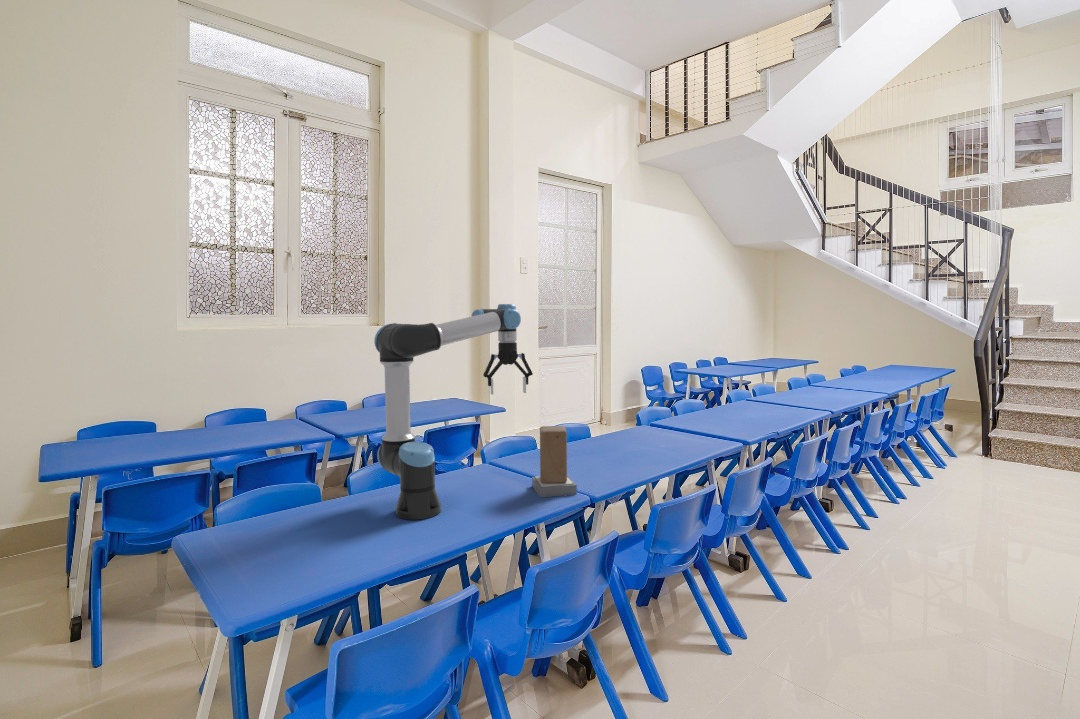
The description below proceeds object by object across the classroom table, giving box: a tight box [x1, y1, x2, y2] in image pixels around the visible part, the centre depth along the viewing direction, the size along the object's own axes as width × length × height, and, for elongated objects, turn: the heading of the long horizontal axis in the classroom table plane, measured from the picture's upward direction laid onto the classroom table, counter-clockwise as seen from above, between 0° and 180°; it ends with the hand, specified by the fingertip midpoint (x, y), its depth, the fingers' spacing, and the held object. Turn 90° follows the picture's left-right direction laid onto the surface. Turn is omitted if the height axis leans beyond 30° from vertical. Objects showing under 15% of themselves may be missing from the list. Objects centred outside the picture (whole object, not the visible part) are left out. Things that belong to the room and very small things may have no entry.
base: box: [531, 475, 578, 498], centre depth 220 cm, size 14×14×4 cm
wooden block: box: [539, 425, 568, 483], centre depth 218 cm, size 10×10×20 cm
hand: (508, 393), depth 236 cm, fingers open, 13 cm apart
